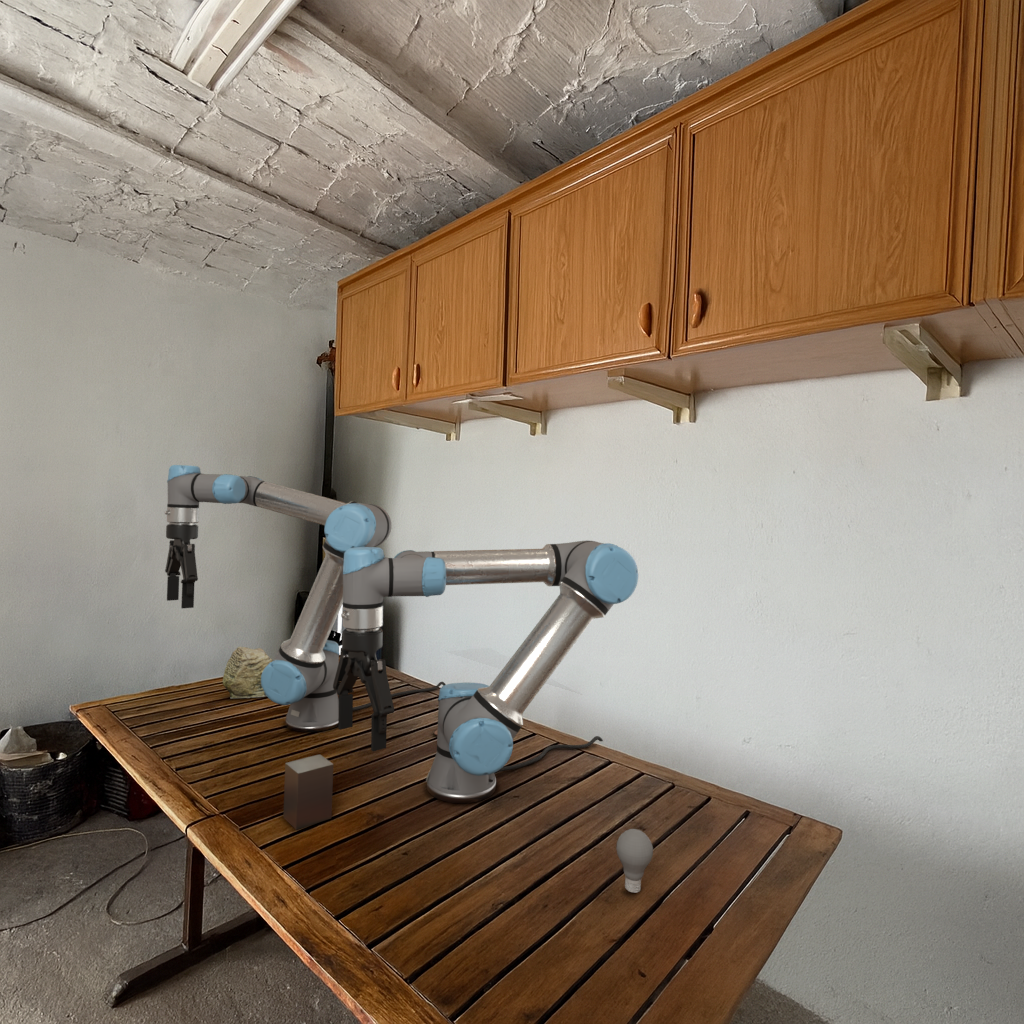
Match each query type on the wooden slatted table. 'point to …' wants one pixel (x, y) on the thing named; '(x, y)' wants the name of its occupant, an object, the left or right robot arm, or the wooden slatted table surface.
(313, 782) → the grey boxy piece
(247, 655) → the fossil
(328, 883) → the wooden slatted table surface
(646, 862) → the light bulb
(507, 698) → the right robot arm
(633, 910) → the wooden slatted table surface
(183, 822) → the wooden slatted table surface
